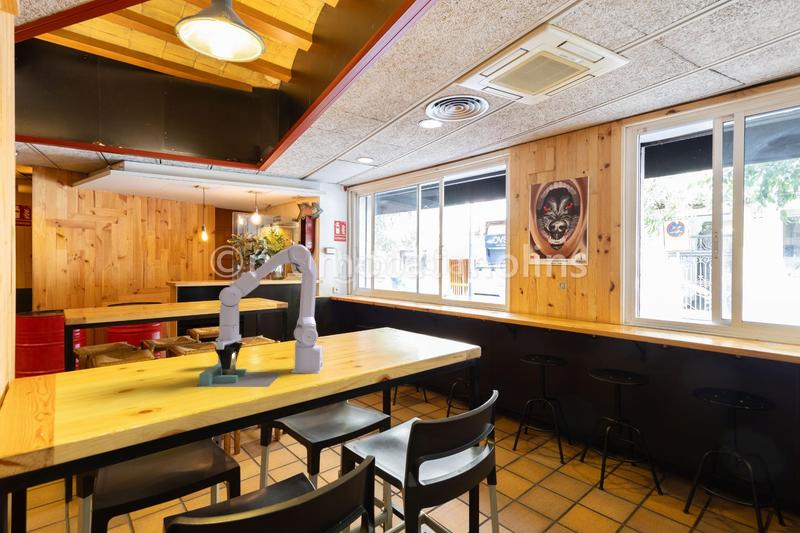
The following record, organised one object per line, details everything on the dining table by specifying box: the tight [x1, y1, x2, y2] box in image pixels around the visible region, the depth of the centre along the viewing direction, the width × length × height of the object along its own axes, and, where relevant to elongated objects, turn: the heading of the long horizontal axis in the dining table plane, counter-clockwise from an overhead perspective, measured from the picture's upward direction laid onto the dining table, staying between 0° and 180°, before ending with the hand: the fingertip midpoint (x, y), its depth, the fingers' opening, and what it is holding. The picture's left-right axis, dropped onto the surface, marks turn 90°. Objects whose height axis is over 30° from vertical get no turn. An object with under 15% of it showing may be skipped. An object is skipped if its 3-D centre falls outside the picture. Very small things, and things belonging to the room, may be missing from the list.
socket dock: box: [198, 362, 248, 386], centre depth 124 cm, size 10×14×4 cm
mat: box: [194, 371, 283, 388], centre depth 124 cm, size 22×16×1 cm
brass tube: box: [222, 351, 237, 375], centre depth 124 cm, size 4×4×7 cm
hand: (229, 367), depth 124 cm, fingers closed on brass tube, 4 cm apart
